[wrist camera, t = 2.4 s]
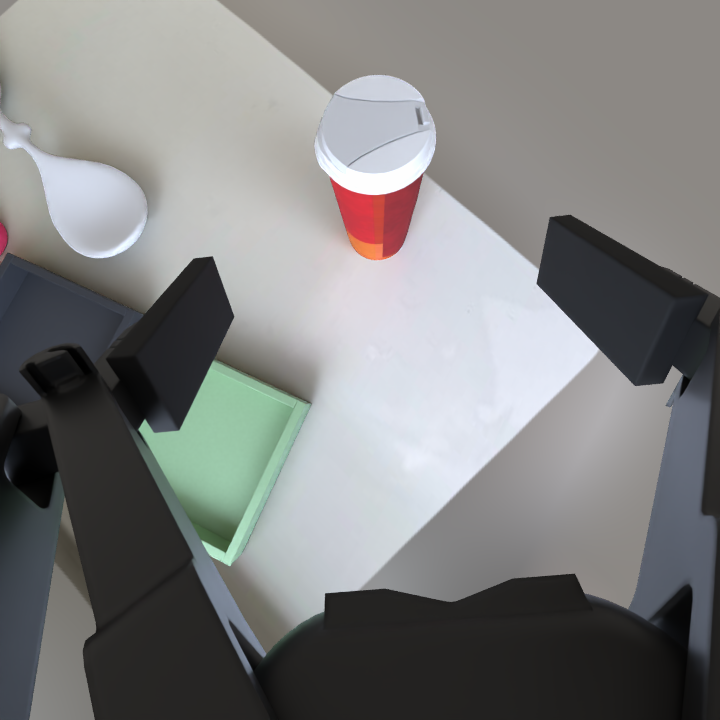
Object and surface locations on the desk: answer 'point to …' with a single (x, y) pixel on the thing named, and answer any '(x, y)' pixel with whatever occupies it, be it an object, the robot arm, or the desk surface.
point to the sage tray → (228, 455)
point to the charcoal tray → (50, 320)
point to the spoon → (85, 197)
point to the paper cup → (376, 159)
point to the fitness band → (2, 238)
